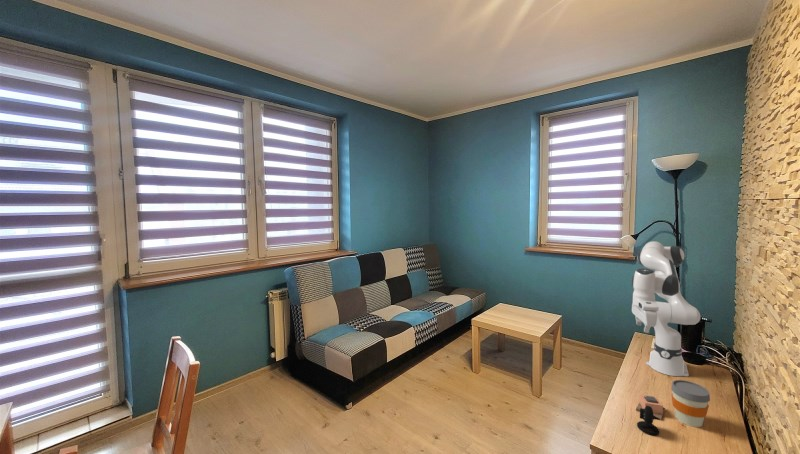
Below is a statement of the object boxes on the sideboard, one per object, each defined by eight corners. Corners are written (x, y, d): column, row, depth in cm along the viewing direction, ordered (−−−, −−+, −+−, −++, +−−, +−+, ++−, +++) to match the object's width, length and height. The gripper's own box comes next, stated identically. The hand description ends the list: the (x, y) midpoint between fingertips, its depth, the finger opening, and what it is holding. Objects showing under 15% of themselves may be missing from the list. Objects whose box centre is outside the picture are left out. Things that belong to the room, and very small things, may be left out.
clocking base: (641, 401, 153) (641, 389, 152) (665, 410, 146) (665, 397, 145) (636, 410, 146) (636, 398, 146) (660, 420, 139) (661, 407, 139)
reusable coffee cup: (662, 410, 146) (664, 379, 145) (690, 410, 145) (692, 379, 144) (686, 430, 133) (688, 396, 132) (716, 430, 133) (719, 396, 132)
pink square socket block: (639, 402, 150) (639, 394, 150) (655, 405, 148) (656, 397, 148) (644, 411, 144) (645, 403, 144) (662, 414, 142) (662, 405, 141)
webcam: (637, 420, 139) (638, 399, 139) (659, 428, 135) (660, 406, 134) (636, 430, 133) (637, 408, 133) (659, 438, 129) (660, 415, 128)
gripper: (628, 295, 168) (627, 320, 169) (644, 307, 148) (643, 335, 149) (642, 296, 165) (641, 321, 167) (660, 308, 146) (659, 337, 147)
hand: (642, 328), depth 158 cm, fingers open, 8 cm apart
